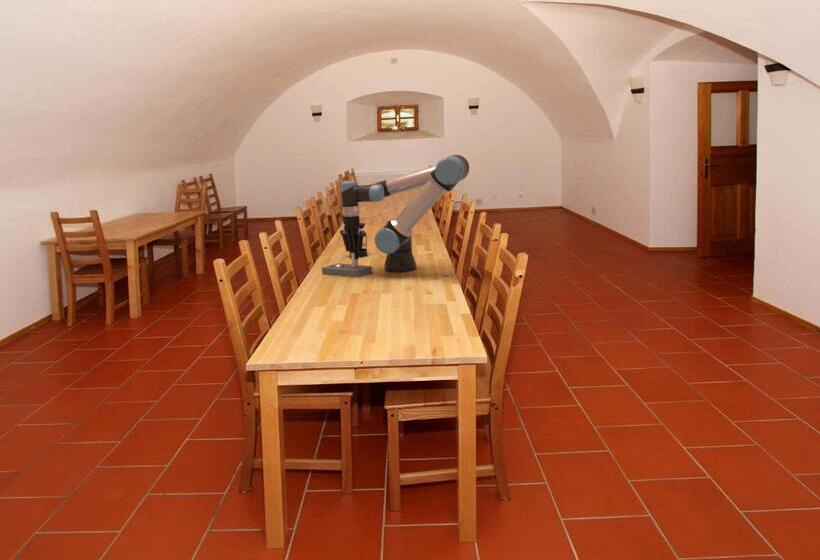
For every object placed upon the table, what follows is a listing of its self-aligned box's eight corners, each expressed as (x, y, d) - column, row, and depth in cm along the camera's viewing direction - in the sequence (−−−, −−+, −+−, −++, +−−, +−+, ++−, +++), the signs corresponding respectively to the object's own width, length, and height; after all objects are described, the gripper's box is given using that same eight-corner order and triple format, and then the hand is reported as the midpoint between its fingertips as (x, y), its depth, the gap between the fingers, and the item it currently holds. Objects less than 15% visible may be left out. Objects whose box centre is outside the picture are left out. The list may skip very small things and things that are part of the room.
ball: (336, 266, 347) (340, 273, 346) (330, 267, 344) (335, 274, 343) (341, 261, 345) (345, 268, 344) (336, 263, 341) (340, 270, 341)
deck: (372, 272, 341) (371, 266, 341) (356, 277, 331) (356, 271, 331) (338, 269, 352) (337, 263, 351) (322, 274, 342) (321, 267, 341)
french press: (368, 253, 390) (366, 210, 385) (369, 256, 381) (367, 212, 376) (346, 255, 388) (343, 212, 383) (347, 258, 379) (344, 214, 374)
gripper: (334, 216, 334) (339, 267, 339) (357, 216, 327) (361, 268, 332) (344, 214, 340) (349, 263, 345) (367, 214, 333) (371, 265, 338)
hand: (355, 266), depth 339 cm, fingers closed
